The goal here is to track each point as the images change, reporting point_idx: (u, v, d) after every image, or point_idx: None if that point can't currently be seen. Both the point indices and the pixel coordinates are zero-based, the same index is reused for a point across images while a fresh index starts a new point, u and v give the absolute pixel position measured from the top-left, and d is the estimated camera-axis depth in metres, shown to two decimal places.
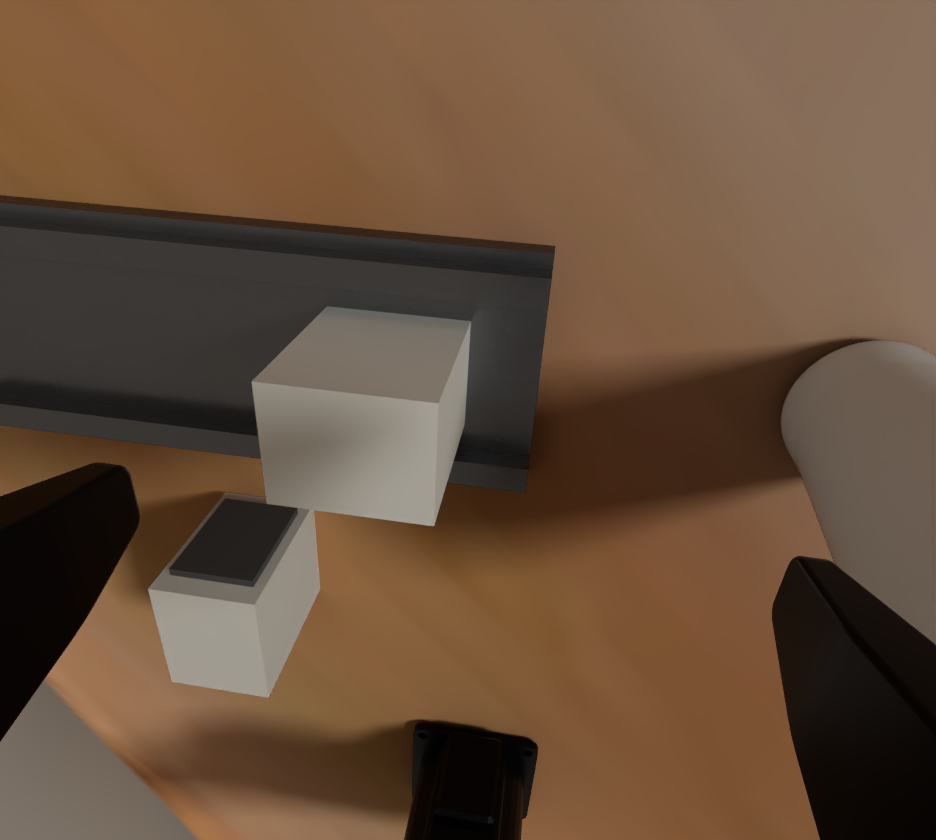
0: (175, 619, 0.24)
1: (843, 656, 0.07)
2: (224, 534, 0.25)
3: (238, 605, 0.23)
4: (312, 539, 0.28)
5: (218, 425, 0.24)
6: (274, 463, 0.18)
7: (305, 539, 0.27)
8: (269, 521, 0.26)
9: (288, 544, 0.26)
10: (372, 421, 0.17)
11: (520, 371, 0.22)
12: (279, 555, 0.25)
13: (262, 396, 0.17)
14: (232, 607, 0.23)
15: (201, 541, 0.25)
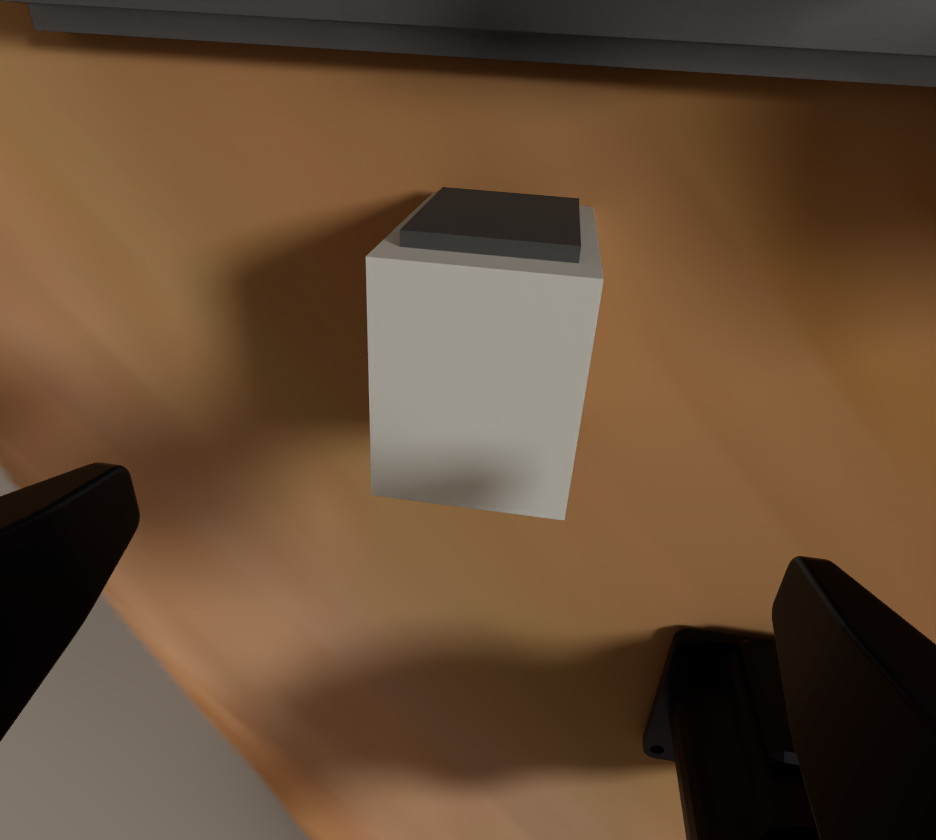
0: (411, 337, 0.11)
1: (843, 656, 0.07)
2: (474, 209, 0.13)
3: (566, 282, 0.11)
4: None
5: None
6: None
7: None
8: (544, 204, 0.14)
9: (594, 231, 0.13)
10: None
11: None
12: (590, 239, 0.13)
13: None
14: (549, 292, 0.11)
15: (437, 212, 0.13)
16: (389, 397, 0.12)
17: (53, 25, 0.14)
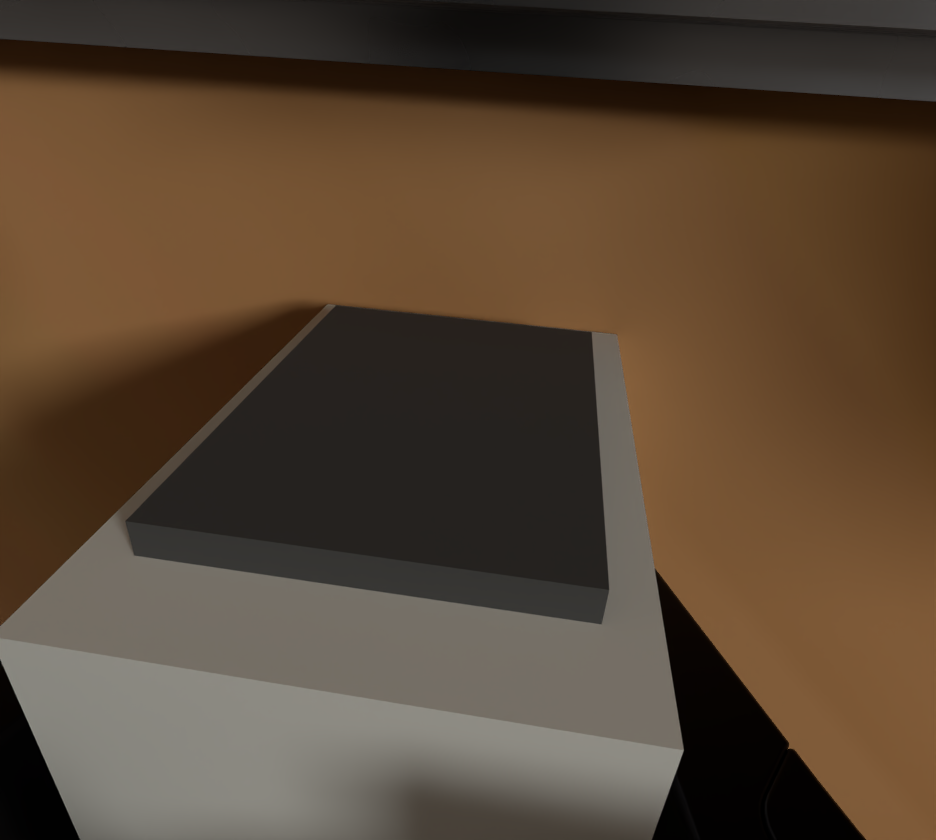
0: (160, 795, 0.04)
1: None
2: (369, 392, 0.06)
3: (568, 745, 0.04)
4: None
5: None
6: None
7: None
8: (522, 361, 0.07)
9: (627, 436, 0.06)
10: None
11: None
12: (623, 475, 0.06)
13: None
14: (517, 759, 0.04)
15: (279, 410, 0.06)
16: None
17: None
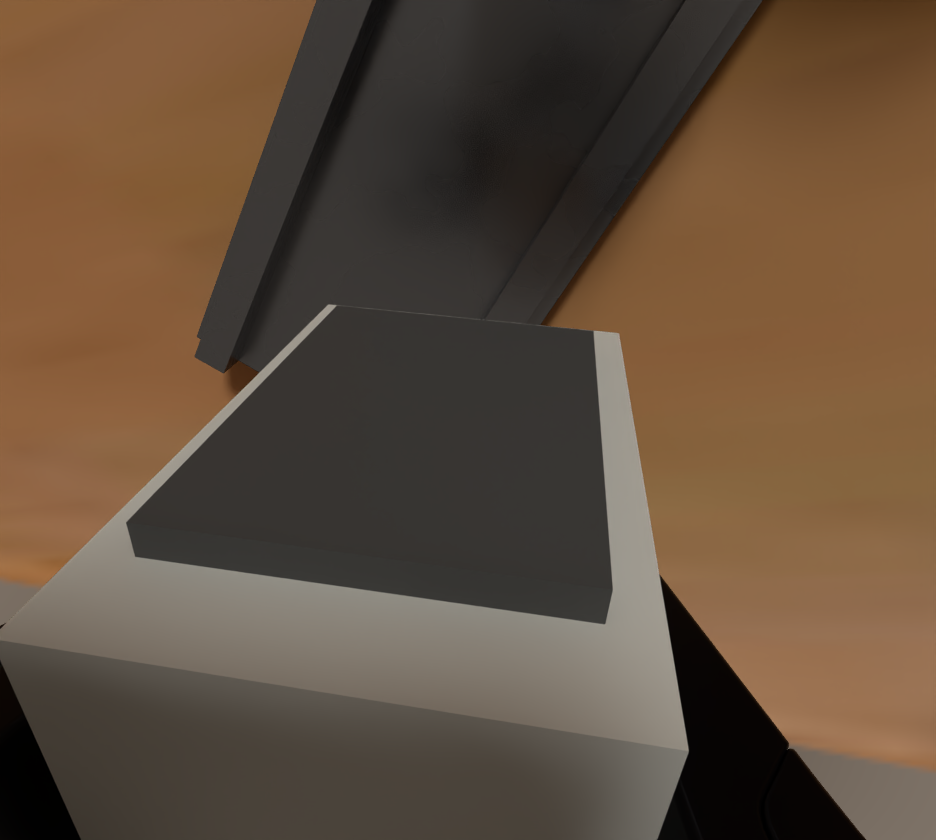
0: (162, 797, 0.04)
1: None
2: (370, 392, 0.06)
3: (571, 746, 0.03)
4: None
5: (570, 181, 0.16)
6: None
7: None
8: (524, 361, 0.07)
9: (629, 434, 0.06)
10: None
11: None
12: (624, 473, 0.06)
13: None
14: (521, 760, 0.04)
15: (279, 410, 0.06)
16: None
17: None
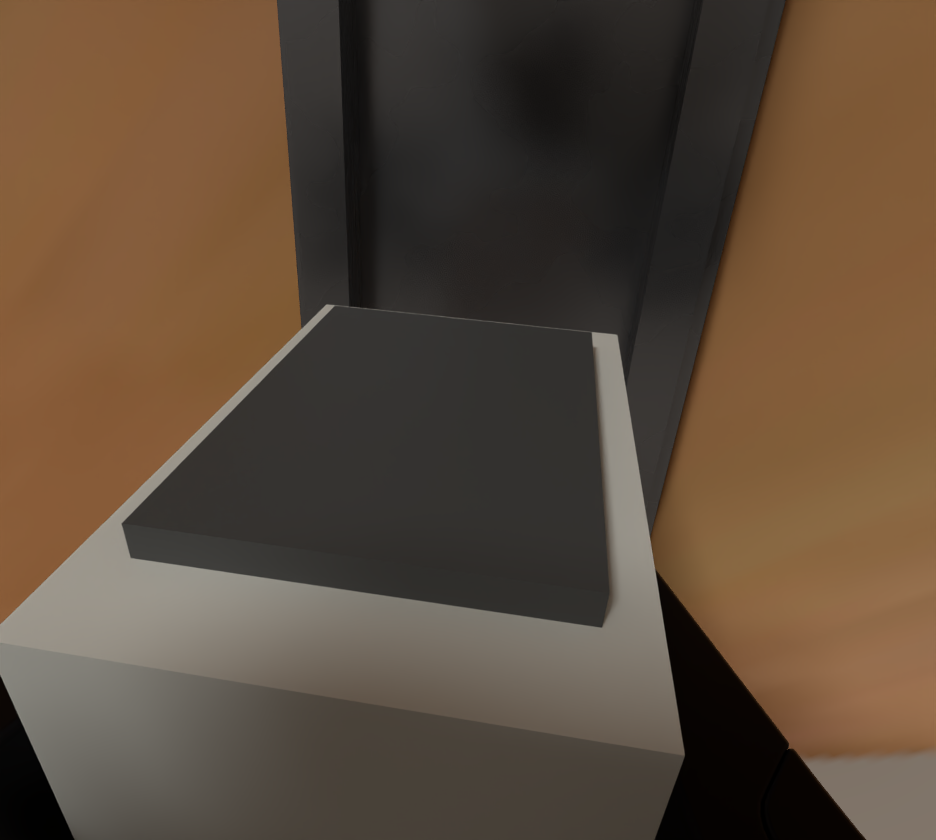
0: (157, 800, 0.04)
1: None
2: (368, 393, 0.06)
3: (567, 751, 0.03)
4: None
5: (679, 103, 0.11)
6: None
7: None
8: (522, 362, 0.07)
9: (627, 436, 0.06)
10: None
11: None
12: (621, 477, 0.06)
13: None
14: (516, 763, 0.04)
15: (276, 412, 0.06)
16: None
17: (648, 525, 0.16)
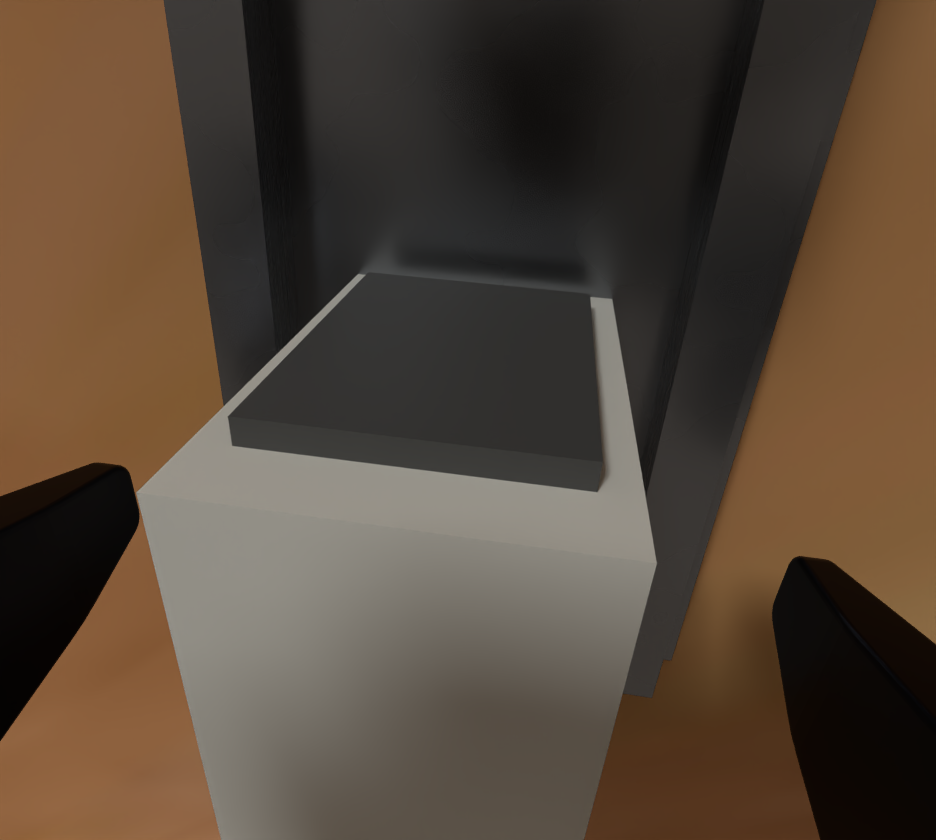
0: (253, 632, 0.06)
1: (843, 656, 0.07)
2: (405, 335, 0.07)
3: (572, 564, 0.05)
4: None
5: (729, 118, 0.08)
6: None
7: None
8: (531, 315, 0.08)
9: (618, 371, 0.07)
10: None
11: None
12: (614, 399, 0.07)
13: None
14: (535, 578, 0.05)
15: (333, 347, 0.07)
16: (228, 717, 0.06)
17: (670, 642, 0.13)
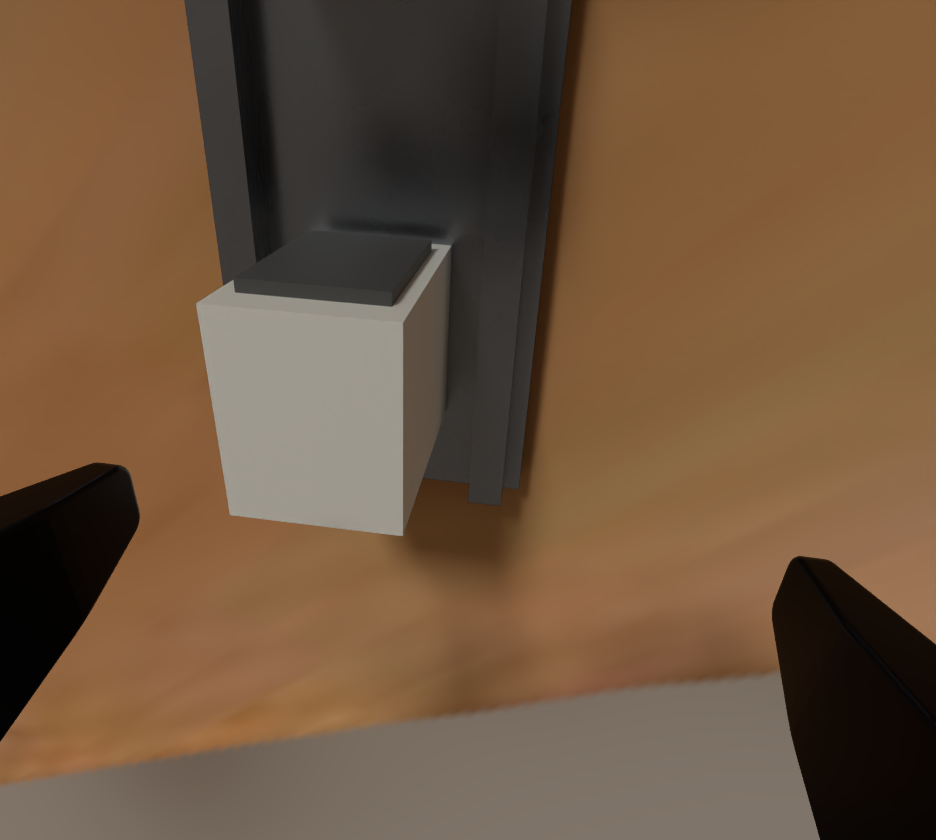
0: (245, 373, 0.13)
1: (843, 656, 0.07)
2: (321, 254, 0.15)
3: (371, 325, 0.12)
4: (446, 309, 0.17)
5: None
6: None
7: (443, 296, 0.17)
8: (392, 247, 0.15)
9: (431, 273, 0.15)
10: None
11: None
12: (421, 281, 0.14)
13: None
14: (358, 333, 0.12)
15: (283, 258, 0.14)
16: (233, 426, 0.13)
17: (516, 475, 0.20)
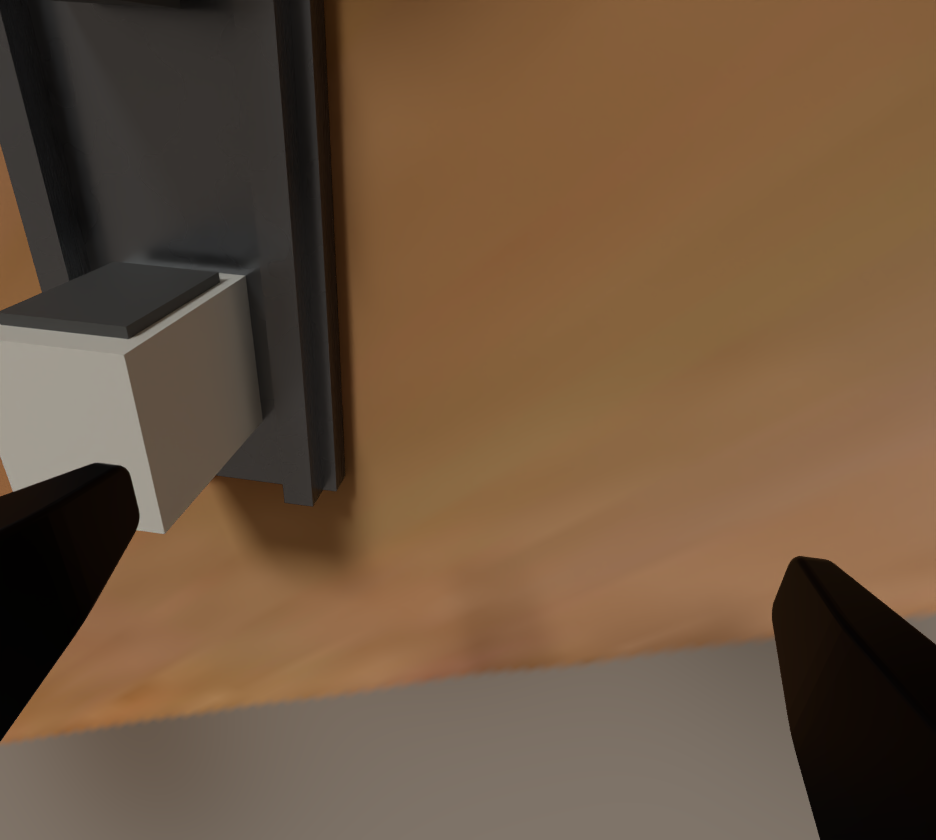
0: (7, 394, 0.15)
1: (843, 656, 0.07)
2: (99, 288, 0.17)
3: (99, 356, 0.14)
4: (245, 332, 0.20)
5: None
6: None
7: (231, 321, 0.19)
8: (172, 280, 0.17)
9: (197, 304, 0.17)
10: None
11: None
12: (180, 313, 0.16)
13: None
14: (91, 363, 0.14)
15: (61, 292, 0.16)
16: (8, 438, 0.16)
17: (332, 479, 0.22)
